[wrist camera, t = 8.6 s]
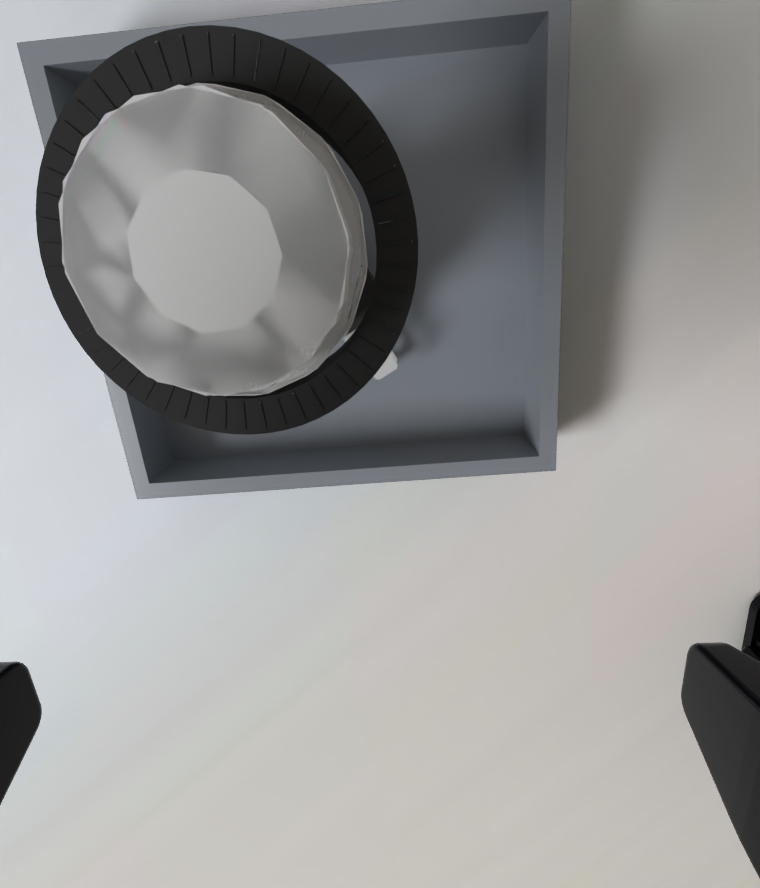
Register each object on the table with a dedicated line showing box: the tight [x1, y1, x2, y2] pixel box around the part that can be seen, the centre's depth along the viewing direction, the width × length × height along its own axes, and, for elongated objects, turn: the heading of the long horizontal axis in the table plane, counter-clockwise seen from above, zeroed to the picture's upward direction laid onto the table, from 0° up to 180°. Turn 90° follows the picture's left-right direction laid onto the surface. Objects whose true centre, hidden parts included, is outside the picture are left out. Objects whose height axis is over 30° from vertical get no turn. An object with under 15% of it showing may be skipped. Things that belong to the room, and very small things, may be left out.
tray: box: [17, 0, 571, 499], centre depth 15 cm, size 13×12×2 cm
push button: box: [36, 25, 418, 435], centre depth 11 cm, size 7×5×10 cm
